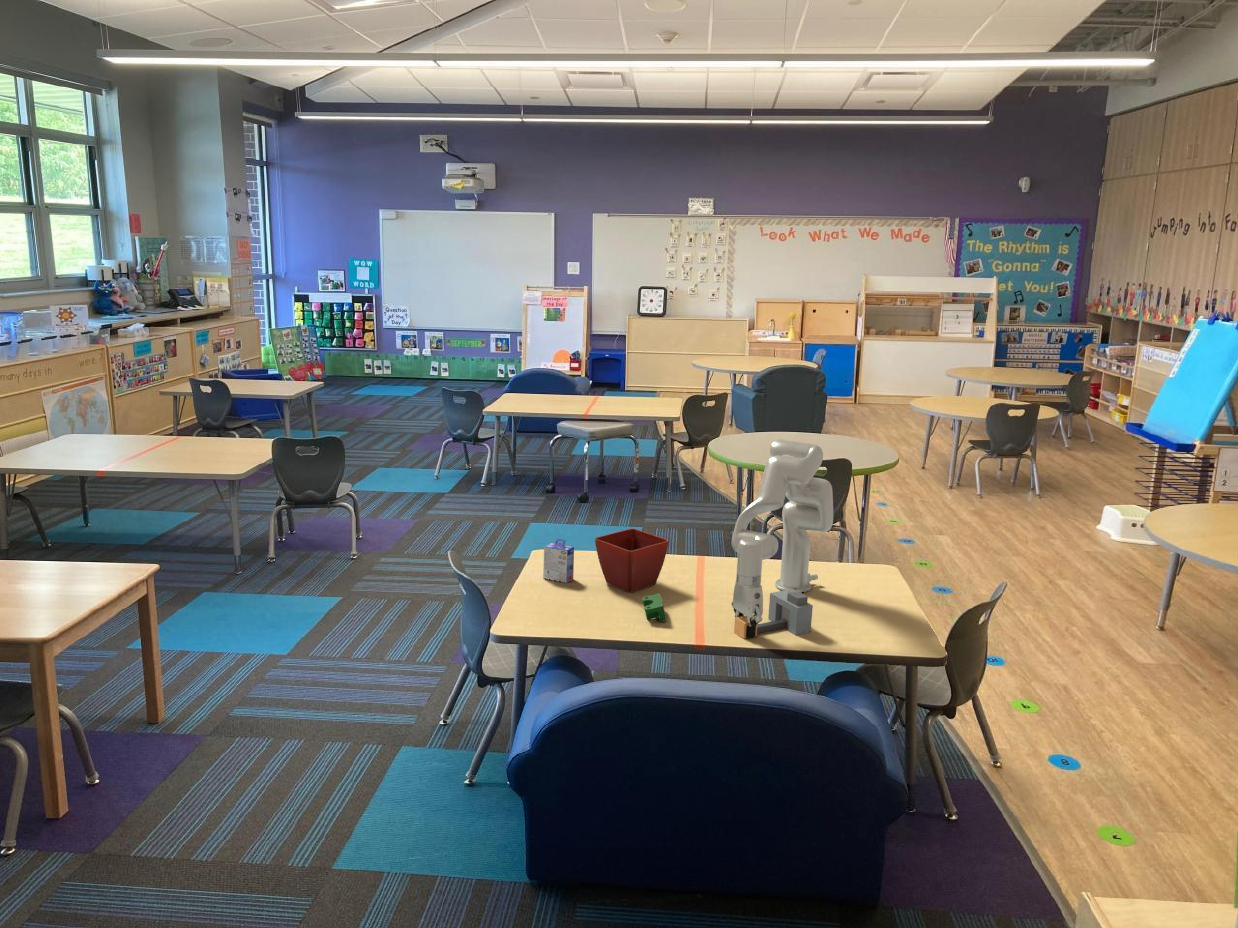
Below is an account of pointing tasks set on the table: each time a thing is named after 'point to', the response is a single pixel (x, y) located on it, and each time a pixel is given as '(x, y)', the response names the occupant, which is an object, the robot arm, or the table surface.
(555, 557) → the ink cartridge box
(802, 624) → the housing
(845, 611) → the table surface
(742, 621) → the cube-ended rod
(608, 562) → the plant pot
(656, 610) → the clamp
